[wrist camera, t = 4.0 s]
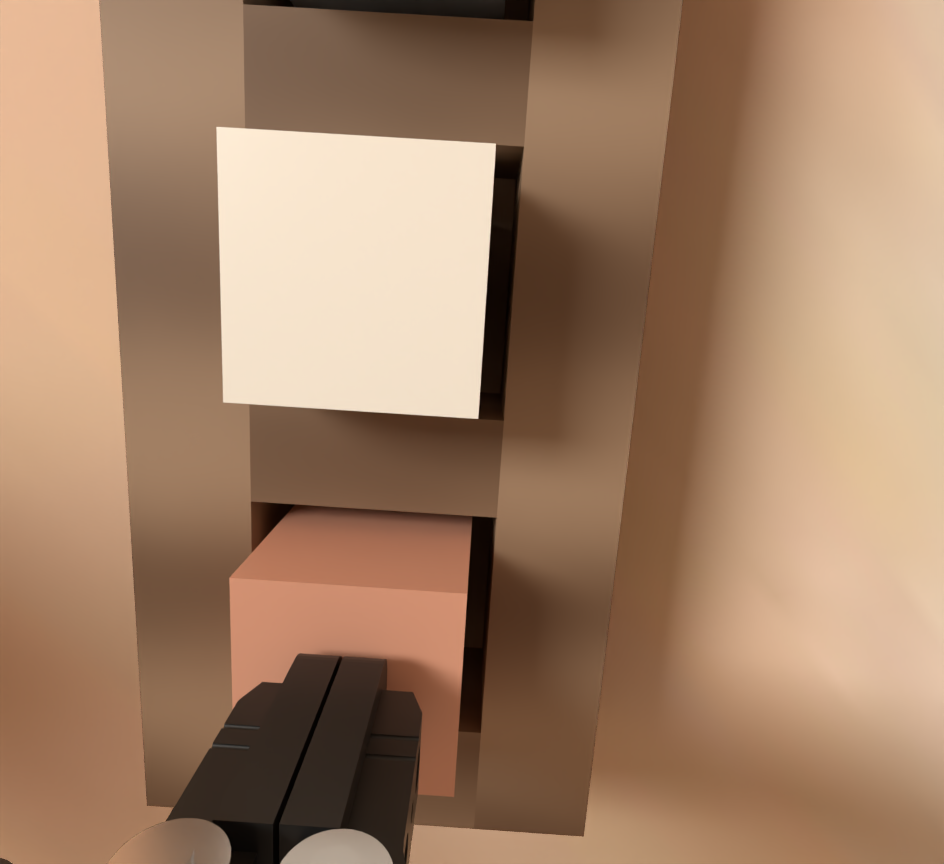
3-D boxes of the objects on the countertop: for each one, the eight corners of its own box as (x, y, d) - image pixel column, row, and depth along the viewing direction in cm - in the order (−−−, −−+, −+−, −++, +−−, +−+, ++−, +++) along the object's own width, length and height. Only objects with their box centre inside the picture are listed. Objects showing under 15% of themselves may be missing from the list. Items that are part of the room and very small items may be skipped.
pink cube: (462, 668, 15) (453, 796, 11) (298, 657, 15) (234, 781, 12) (472, 512, 15) (467, 593, 11) (298, 500, 15) (229, 577, 11)
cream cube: (480, 382, 14) (478, 419, 10) (297, 371, 14) (223, 402, 10) (493, 188, 13) (495, 143, 9) (297, 176, 13) (216, 126, 9)
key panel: (562, 720, 18) (583, 836, 14) (218, 696, 18) (147, 805, 15) (670, -297, 13) (747, -545, 9) (189, -322, 13) (65, -579, 9)
